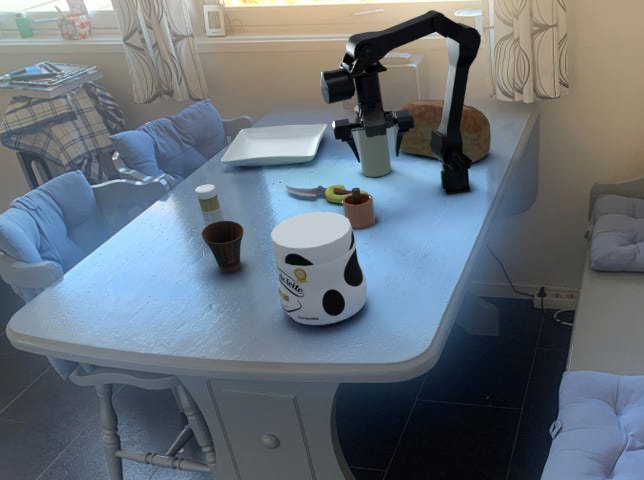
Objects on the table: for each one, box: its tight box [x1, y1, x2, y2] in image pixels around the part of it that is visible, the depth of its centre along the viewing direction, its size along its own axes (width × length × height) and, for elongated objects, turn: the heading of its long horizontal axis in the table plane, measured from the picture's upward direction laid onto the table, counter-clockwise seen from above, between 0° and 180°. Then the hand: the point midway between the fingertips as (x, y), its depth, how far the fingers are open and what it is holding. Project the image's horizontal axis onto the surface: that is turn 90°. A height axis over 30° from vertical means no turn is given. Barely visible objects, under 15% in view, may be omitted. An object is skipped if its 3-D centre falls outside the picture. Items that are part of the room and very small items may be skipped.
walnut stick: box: [351, 187, 362, 205], centre depth 182 cm, size 2×2×8 cm
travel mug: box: [353, 104, 392, 178], centre depth 204 cm, size 8×8×18 cm
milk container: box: [270, 211, 368, 328], centre depth 148 cm, size 17×17×18 cm
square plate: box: [220, 123, 329, 167], centre depth 225 cm, size 27×27×4 cm
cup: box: [201, 220, 245, 274], centre depth 166 cm, size 9×9×10 cm
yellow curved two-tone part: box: [284, 184, 369, 204], centre depth 197 cm, size 8×3×25 cm
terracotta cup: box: [341, 193, 376, 230], centre depth 183 cm, size 7×7×6 cm
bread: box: [397, 99, 492, 163], centre depth 212 cm, size 12×28×14 cm, turn 59°
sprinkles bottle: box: [194, 183, 225, 227], centre depth 178 cm, size 5×5×13 cm
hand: (378, 159), depth 182 cm, fingers open, 9 cm apart
